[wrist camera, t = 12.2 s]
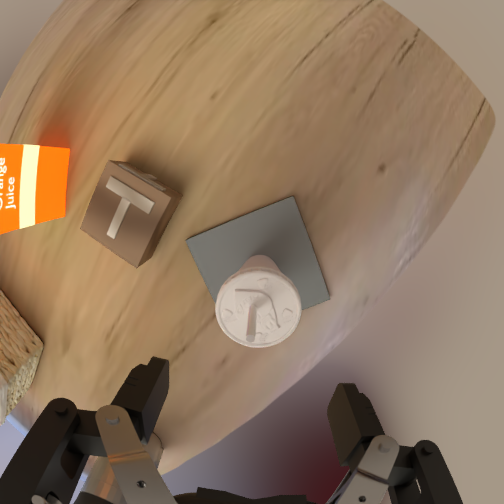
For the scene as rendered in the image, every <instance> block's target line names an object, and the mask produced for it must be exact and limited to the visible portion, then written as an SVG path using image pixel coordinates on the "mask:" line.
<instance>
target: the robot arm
mask: <svg viewBox="0 0 504 504" xmlns="http://www.w3.org/2000/svg"><path fill="white" fill-rule="evenodd" d="M168 389H169V361H168V360H166V359H162V358H158V357H154V356H153V357H152V358H151V360H150V362H149V363H148V365H143V364H139V365H138V366H136V367H135V368H133V369H132V370H131V372H130V374H129V375H128V378H126V380H125V382H124V383H123V385H122V386H121V388H120V390H119V391H118V393H117V395H116V396H115V398H114V399H113V401H112V403H111V404H110V405H106V406H103V407H101V408H100V409H98V411H87V410H80V409H77V408H76V405H75V404H74V403H73V402H72V401H70V400H68V399H65V398H57V399H54V400H52V401H50V402H49V403H48V405H47V406H46V407H45V409H44V410H43V412H42V413H41V415H40V416H39V418H38V419H37V420H36V422H35V423H34V425H33V426H32V428H31V429H30V431H29V432H28V434H27V435H26V437H25V438H24V440H23V442H22V443H21V445H20V446H19V448H18V449H17V451H16V453H15V454H14V456H13V458H12V459H11V461H10V463H9V464H8V466H7V468H6V469H5V471H4V473H3V474H2V476H1V478H0V504H69V503H70V501H71V498H72V496H73V493H74V491H75V488H76V486H77V484H78V481H79V479H80V476H81V474H82V472H83V469H84V467H85V465H86V462H87V460H88V458H89V456H90V455H93V456H98V458H97V460H96V462H95V463H94V465H93V467H92V469H91V471H90V473H89V475H88V477H87V479H86V481H85V483H84V485H83V487H82V489H81V491H80V493H79V495H78V497H77V499H76V501H75V502H74V504H316V503H314V502H310V501H307V499H306V495H279V496H273V497H268V498H261V499H249V498H245V497H242V496H238V495H235V494H232V493H228V492H226V491H219V490H213V489H206V488H201V487H198V489H197V493H184V494H179V495H176V496H172V494H171V493H170V491H169V489H168V488H167V486H166V484H165V483H164V481H163V479H162V477H161V476H160V474H159V472H158V470H157V468H158V465H159V462H160V459H161V456H162V453H163V449H162V448H161V442H160V440H159V438H158V437H157V436H156V435H155V434H154V433H153V429H154V427H155V424H156V421H157V419H158V416H159V414H160V411H161V409H162V406H163V404H164V402H165V399H166V397H167V394H168ZM327 415H328V420H329V423H330V427H331V431H332V435H333V439H334V443H335V447H336V451H337V455H338V459H339V463H340V466H349V467H350V470H349V471H348V473H347V474H346V476H345V477H344V479H343V480H342V482H341V484H340V485H339V487H338V488H337V489H336V491H335V492H334V494H333V495H332V497H331V498H330V499H329V500H328V502H327V503H326V504H380V503H381V501H382V499H383V497H384V495H385V493H386V491H387V489H388V492H389V495H390V499H391V503H392V504H463V502H462V500H461V497H460V495H459V492H458V490H457V488H456V485H455V483H454V481H453V478H452V476H451V474H450V472H449V469H448V468H447V465H446V463H445V461H444V459H443V456H442V454H441V452H440V450H439V448H438V446H437V445H436V444H435V443H433V442H432V441H429V440H421V441H419V442H418V443H417V444H416V445H415V446H414V447H408V446H400V445H399V444H398V443H397V441H396V440H395V439H394V438H392V437H390V436H387V435H385V433H384V431H383V429H382V426H381V424H380V422H379V419H378V418H377V415H375V411H374V409H373V406H372V404H371V402H370V400H369V399H368V398H367V397H366V396H365V395H364V394H363V393H359V391H358V389H357V387H356V385H355V384H354V383H339V384H338V386H337V388H336V390H335V392H334V394H333V397H332V399H331V401H330V403H329V406H328V410H327ZM416 479H417V480H418V483H419V486H420V489H421V493H420V491H419V488H418V485H417V482H416Z"/></svg>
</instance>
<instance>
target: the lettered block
mask: <svg viewBox="0 0 504 504" xmlns="http://www.w3.org/2000/svg"><path fill="white" fill-rule="evenodd" d="M182 197H183V195H181V194H179V193H178V192H176V191H174V190H173V189H171V188H169V187H168V186H166V185H164V184H162V183H161V182H159V181H157V178H156V177H154V176H152V175H151V174H146V173H144V172H142V171H140V170H139V169H137V168H135V167H134V166H132V165H130V164H128V163H127V162H122V161H112V160H108V162H107V164H106V166H105V168H104V170H103V173H102V175H101V177H100V179H99V182H98V184H97V186H96V189H95V191H94V194H93V196H92V198H91V201H90V203H89V206H88V209H87V211H86V214H85V217H84V219H83V222H82V225H81V228H80V229H81V230H83V231H84V232H85V233H87V234H88V235H89V236H91V237H92V238H94V239H95V240H96V241H98V242H99V243H101V244H102V245H103V246H105V247H106V248H108V249H109V250H111V251H112V252H113V253H115V254H116V255H118V256H119V257H121V258H122V259H124V260H125V261H127V262H128V263H130V264H131V265H133V266H134V267H136V268H138V267H139V266H140V265H142V264H143V263H145V262H146V261H147V260H149V259H150V258H151V257H152V255H153V252H154V250H155V248H156V246H157V244H158V242H159V240H160V238H161V236H162V234H163V232H164V230H165V228H166V227H167V225H168V223H169V221H170V219H171V217H172V215H173V213H174V211H175V209H176V208H177V206H178V204H179V202H180V200H181V198H182Z"/></svg>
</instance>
